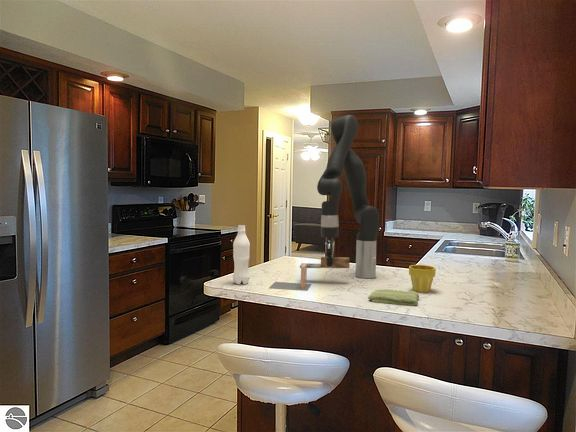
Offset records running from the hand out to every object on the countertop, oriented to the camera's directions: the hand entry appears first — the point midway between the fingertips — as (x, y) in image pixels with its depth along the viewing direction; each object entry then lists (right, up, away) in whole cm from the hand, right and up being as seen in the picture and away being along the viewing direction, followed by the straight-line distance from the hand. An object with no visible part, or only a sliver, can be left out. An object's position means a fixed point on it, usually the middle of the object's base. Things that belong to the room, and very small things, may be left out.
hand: (330, 265), depth 182 cm
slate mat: (-17, -9, -7) cm, 20 cm away
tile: (-12, -8, -8) cm, 16 cm away
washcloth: (+22, -11, -23) cm, 34 cm away
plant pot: (+37, -10, -8) cm, 39 cm away
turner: (-2, -1, 0) cm, 2 cm away
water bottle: (-38, -8, 0) cm, 39 cm away
